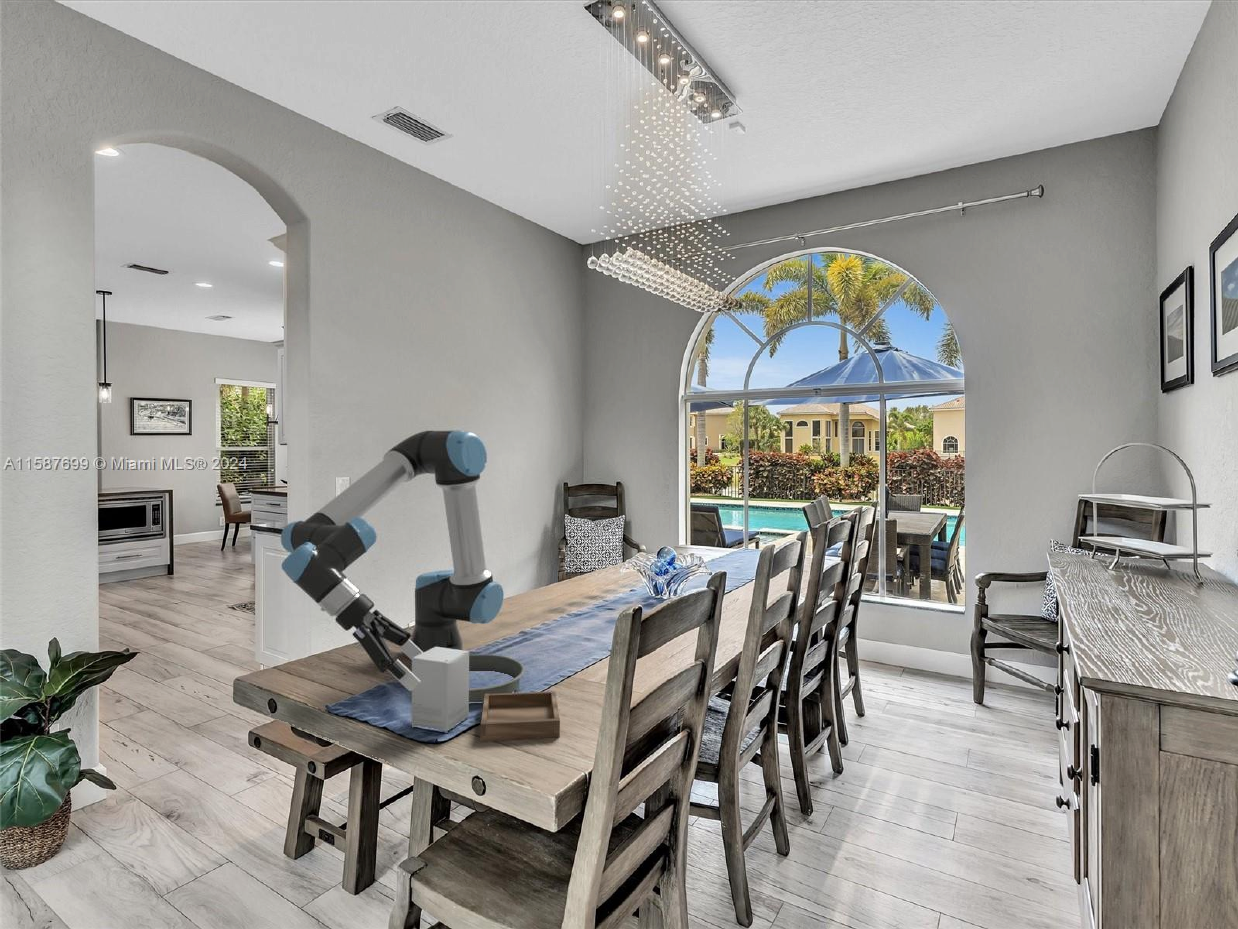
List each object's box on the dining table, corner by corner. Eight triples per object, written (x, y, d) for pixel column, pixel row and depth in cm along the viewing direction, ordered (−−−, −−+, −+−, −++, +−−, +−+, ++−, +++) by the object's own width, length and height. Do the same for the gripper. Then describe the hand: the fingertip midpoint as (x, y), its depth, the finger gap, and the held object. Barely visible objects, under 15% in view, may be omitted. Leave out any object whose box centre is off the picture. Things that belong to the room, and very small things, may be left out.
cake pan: (403, 688, 156) (403, 670, 156) (484, 664, 175) (484, 648, 175) (462, 717, 140) (462, 697, 140) (545, 687, 159) (545, 669, 159)
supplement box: (470, 717, 140) (471, 650, 139) (446, 734, 131) (447, 663, 131) (435, 711, 143) (436, 645, 142) (409, 727, 134) (410, 657, 134)
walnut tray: (484, 709, 144) (484, 694, 144) (554, 706, 147) (555, 691, 147) (480, 741, 129) (480, 724, 128) (559, 737, 131) (559, 720, 131)
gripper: (350, 603, 145) (417, 667, 147) (314, 635, 120) (396, 711, 122) (374, 580, 145) (441, 644, 148) (345, 607, 121) (425, 683, 123)
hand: (420, 674), depth 135 cm, fingers open, 13 cm apart
